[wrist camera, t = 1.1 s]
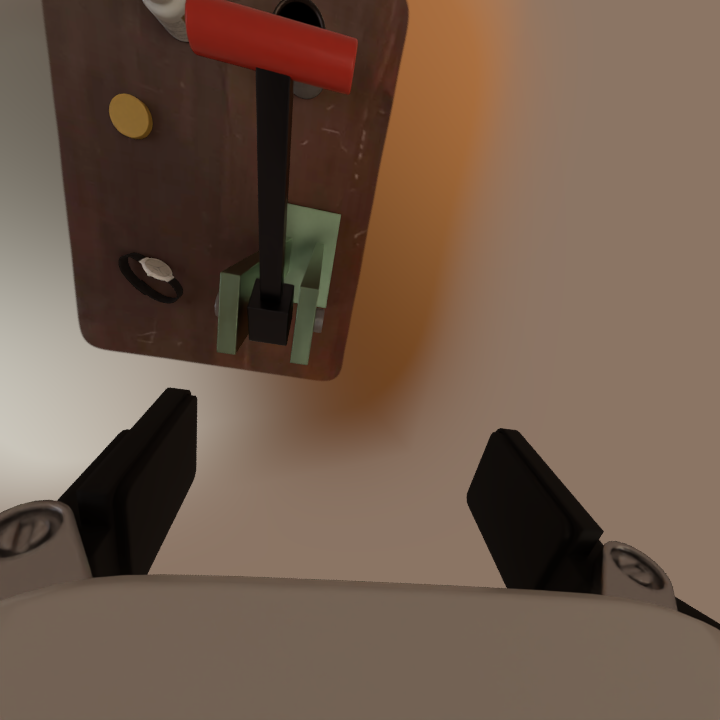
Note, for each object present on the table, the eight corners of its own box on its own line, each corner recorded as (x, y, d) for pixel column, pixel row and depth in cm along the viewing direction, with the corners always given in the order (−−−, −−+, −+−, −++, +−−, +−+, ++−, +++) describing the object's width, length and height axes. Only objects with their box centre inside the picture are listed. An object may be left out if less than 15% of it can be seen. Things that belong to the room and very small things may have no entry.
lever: (200, -17, 11) (173, -5, 9) (359, 31, 11) (357, 49, 10) (234, 308, 22) (224, 337, 20) (313, 321, 22) (309, 349, 21)
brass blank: (106, 106, 38) (100, 103, 37) (137, 89, 38) (133, 86, 37) (129, 145, 40) (125, 143, 39) (160, 129, 39) (156, 128, 38)
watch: (193, 282, 46) (182, 288, 43) (174, 309, 47) (162, 316, 44) (137, 242, 44) (122, 244, 40) (119, 270, 45) (102, 275, 41)
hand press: (277, 201, 43) (189, 182, 16) (340, 214, 44) (361, 218, 17) (267, 295, 48) (187, 408, 20) (325, 305, 49) (323, 424, 21)
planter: (294, 39, 37) (282, -20, 28) (332, 63, 38) (334, 15, 29) (278, 85, 39) (262, 44, 29) (316, 107, 40) (312, 75, 30)
